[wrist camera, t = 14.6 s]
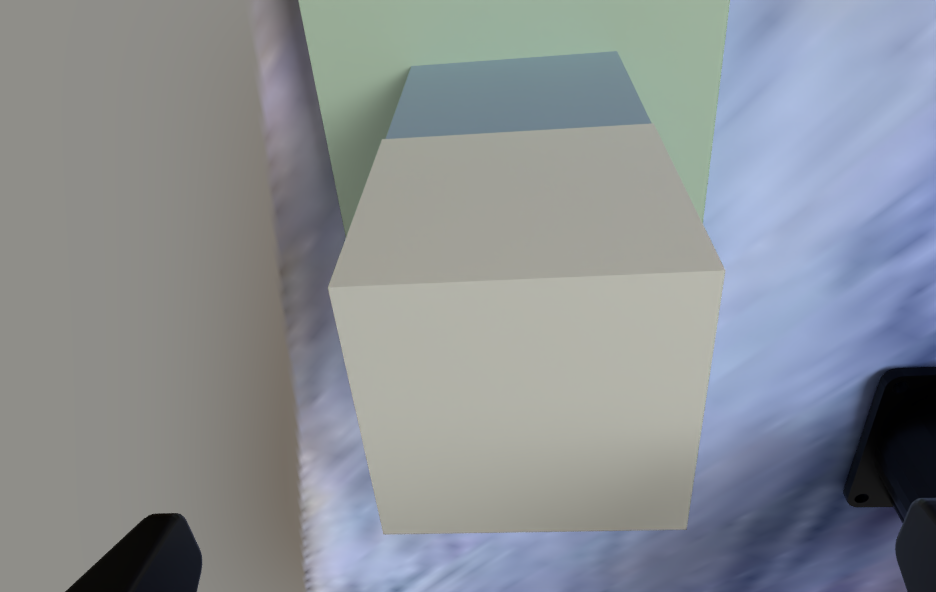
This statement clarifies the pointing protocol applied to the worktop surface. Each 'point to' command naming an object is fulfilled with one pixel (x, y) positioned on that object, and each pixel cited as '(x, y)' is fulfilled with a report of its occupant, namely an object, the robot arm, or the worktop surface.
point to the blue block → (517, 96)
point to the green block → (509, 37)
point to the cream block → (528, 331)
